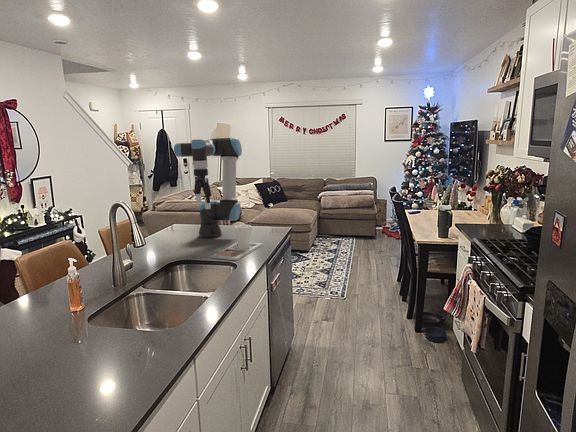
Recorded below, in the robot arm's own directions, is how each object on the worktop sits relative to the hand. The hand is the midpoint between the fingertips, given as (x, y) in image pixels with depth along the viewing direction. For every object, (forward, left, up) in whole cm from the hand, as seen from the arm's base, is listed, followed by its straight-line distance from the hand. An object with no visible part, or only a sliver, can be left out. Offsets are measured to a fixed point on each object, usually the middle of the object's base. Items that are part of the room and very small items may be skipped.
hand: (203, 207), depth 212 cm
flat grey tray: (-9, +15, -26) cm, 32 cm away
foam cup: (-16, +15, -27) cm, 34 cm away
